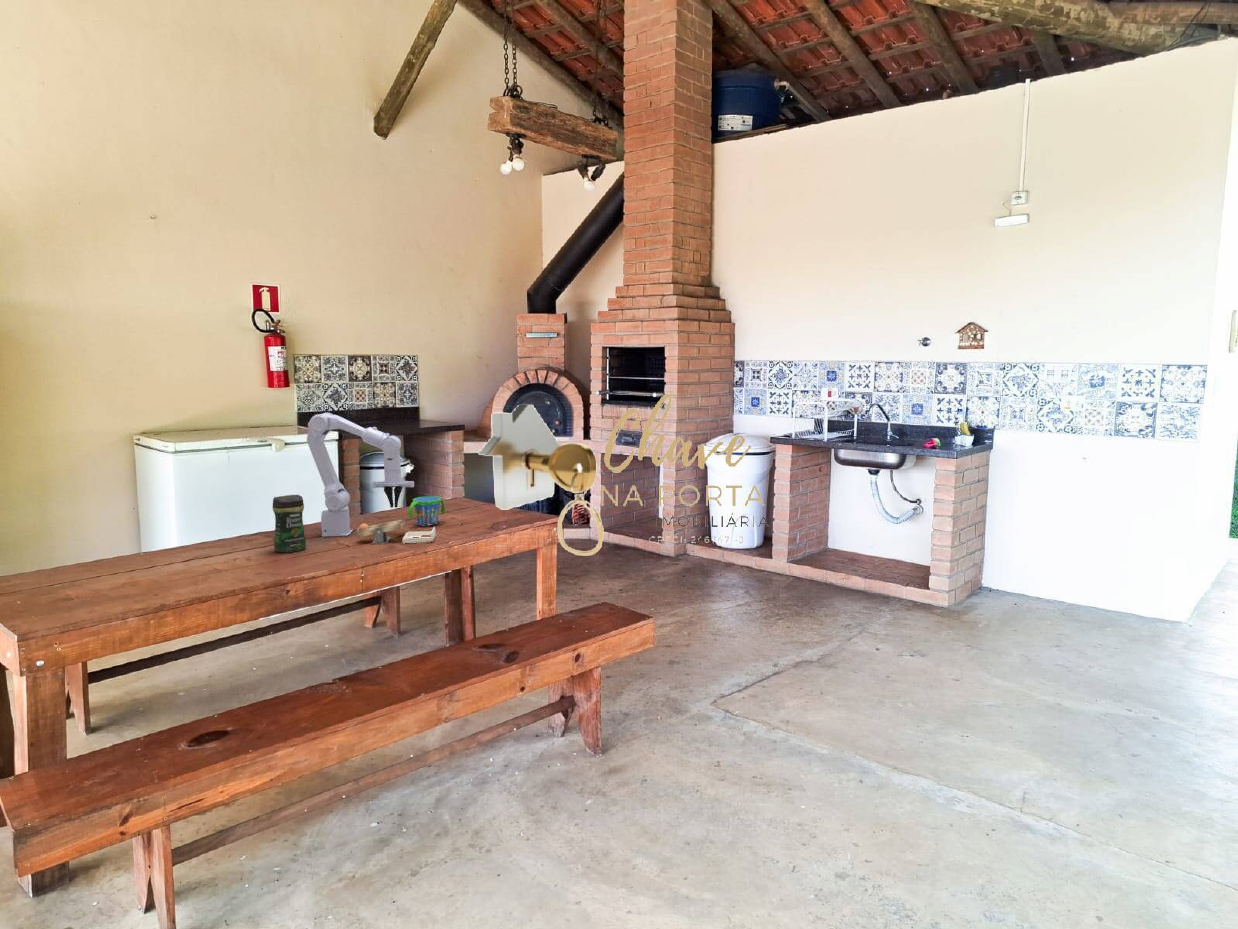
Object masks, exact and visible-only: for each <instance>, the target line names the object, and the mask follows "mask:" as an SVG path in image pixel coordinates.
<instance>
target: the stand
mask: <svg viewBox="0 0 1238 929" xmlns="http://www.w3.org/2000/svg"><path fill="white" fill-rule="evenodd" d="M387 534H388V531H387V532H383V529H376V530H375V534H374V535H375V538H374V540H373V541H372V542H371V545H387V544H388V543H389V542H390V540H391V539H392V538H391V536H388V535H387ZM390 538H391V539H390ZM387 542H388V543H387ZM378 543H380V544H378ZM382 543H383V544H382Z"/></svg>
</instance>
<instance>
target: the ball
mask: <svg viewBox="0 0 1238 929" xmlns="http://www.w3.org/2000/svg"><path fill="white" fill-rule="evenodd" d="M368 526H369V524H368V523H361V524H360V525H359V527H360V530H366V529H369V527H368Z"/></svg>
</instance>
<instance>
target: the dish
mask: <svg viewBox="0 0 1238 929" xmlns="http://www.w3.org/2000/svg"><path fill="white" fill-rule="evenodd" d="M422 535H431V537H421V536H422ZM413 537H419V538H413ZM434 537H435V538H436V526H433V528H432V529H431V530H427V531H425V530H424V531H422V530H421V531H419V530H418V531H407V532H405V534H404V536H403V537H402V545H406V544H405V543H416V542H417V543H418V542H426V541H433V539H434V540H435V538H434ZM433 542H434V541H433ZM418 544H419V543H418Z"/></svg>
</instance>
